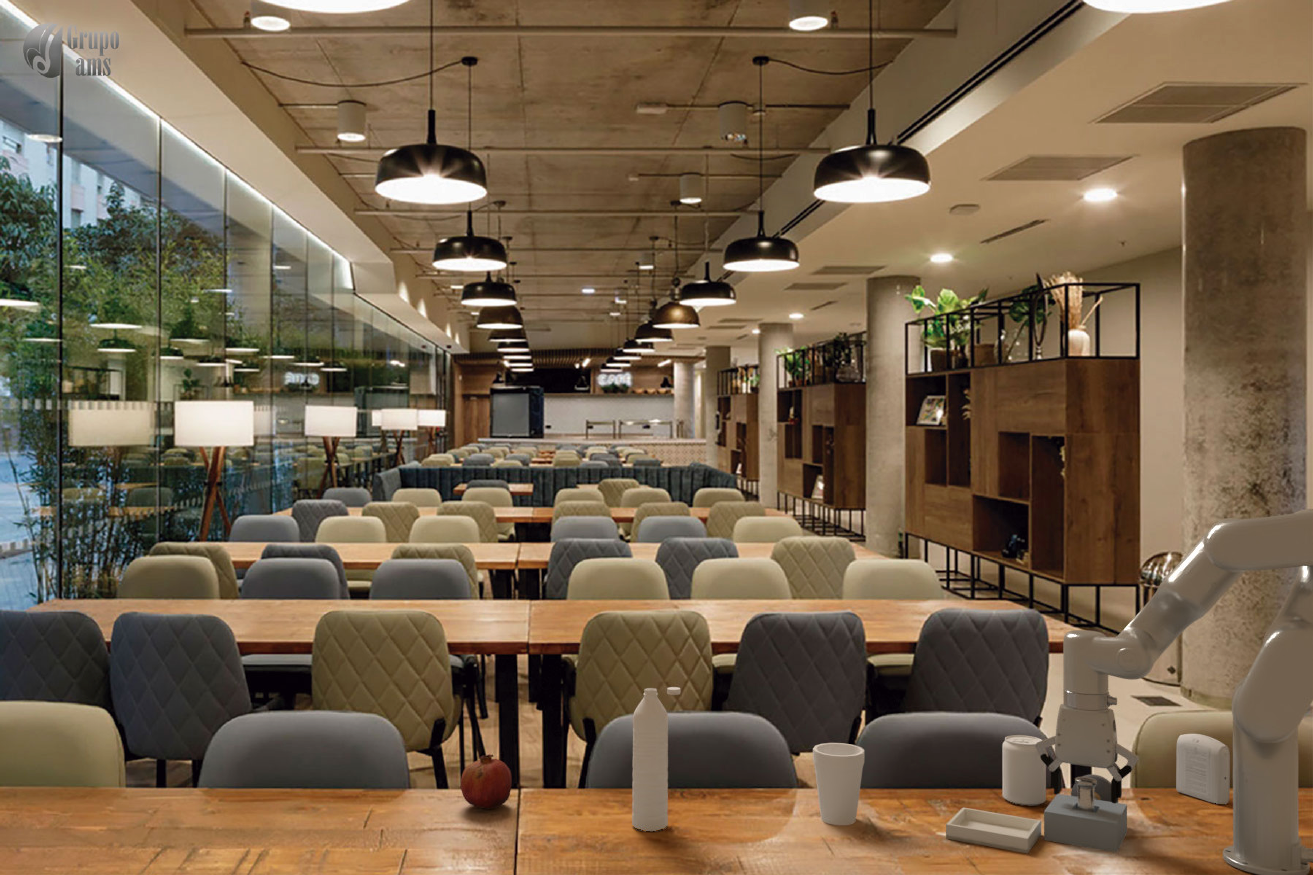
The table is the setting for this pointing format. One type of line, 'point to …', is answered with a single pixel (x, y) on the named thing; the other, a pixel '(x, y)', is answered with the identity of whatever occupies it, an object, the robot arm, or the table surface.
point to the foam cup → (838, 781)
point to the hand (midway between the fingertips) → (1085, 796)
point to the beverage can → (1023, 771)
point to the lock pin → (1086, 793)
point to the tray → (994, 830)
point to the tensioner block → (1087, 819)
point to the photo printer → (1203, 768)
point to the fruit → (486, 783)
